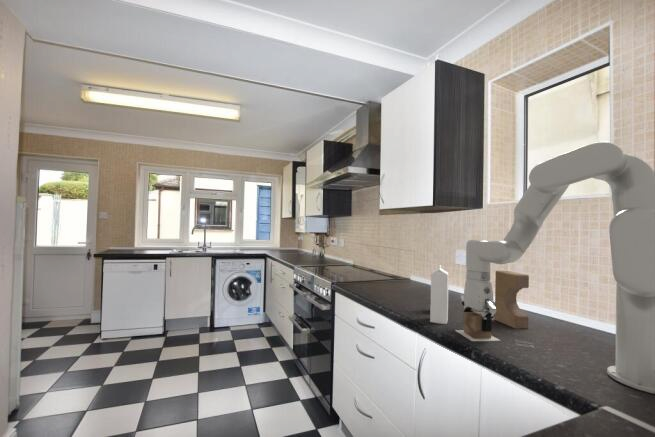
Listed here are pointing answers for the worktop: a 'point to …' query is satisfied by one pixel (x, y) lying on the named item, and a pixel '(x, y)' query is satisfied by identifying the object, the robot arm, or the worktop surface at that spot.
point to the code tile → (524, 345)
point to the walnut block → (474, 325)
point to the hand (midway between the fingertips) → (476, 326)
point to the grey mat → (477, 339)
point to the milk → (439, 296)
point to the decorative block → (510, 298)
